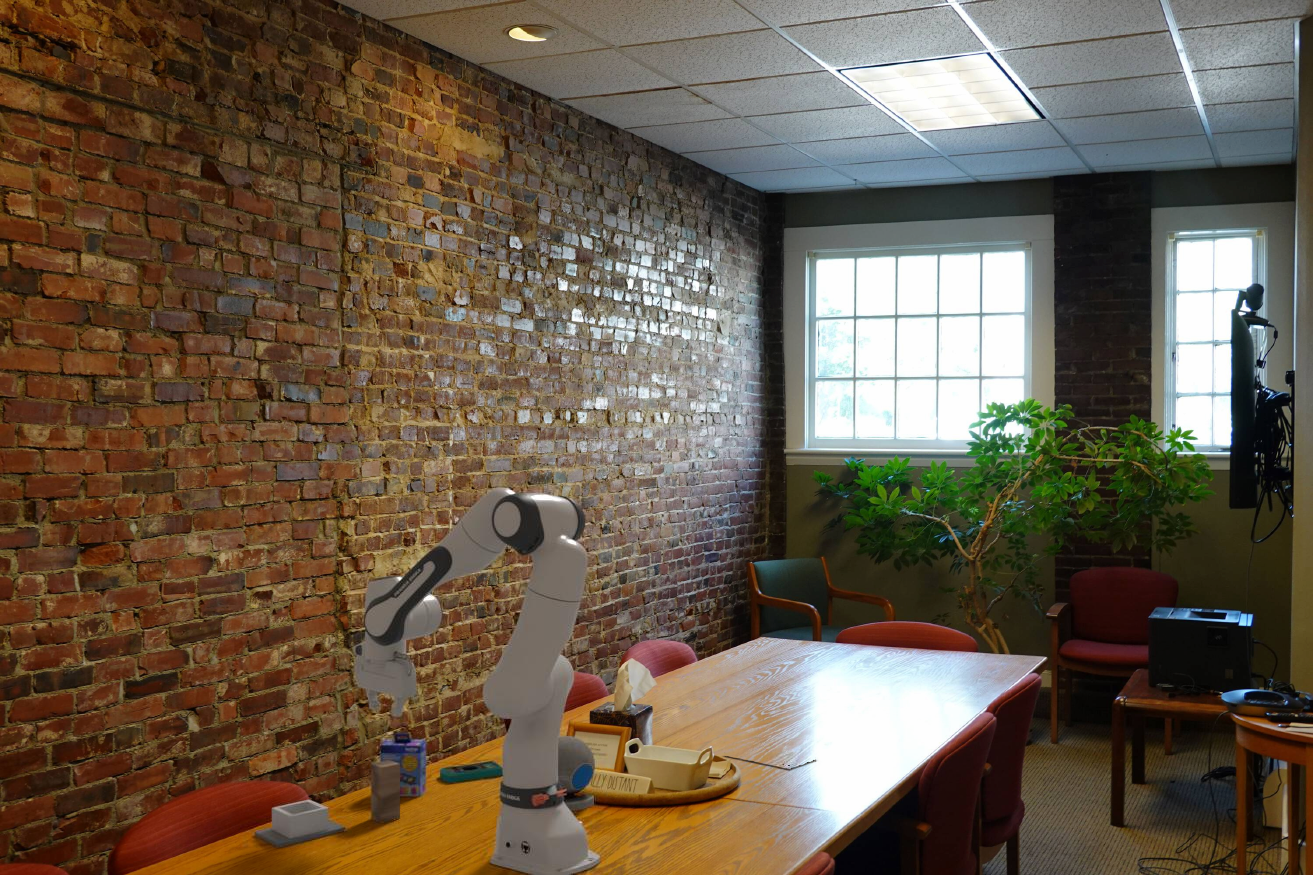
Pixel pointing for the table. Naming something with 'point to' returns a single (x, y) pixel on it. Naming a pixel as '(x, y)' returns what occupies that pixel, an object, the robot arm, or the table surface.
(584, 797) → the webcam
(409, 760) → the ink cartridge box
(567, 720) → the table surface
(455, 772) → the digital multimeter
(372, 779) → the peg
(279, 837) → the dock
